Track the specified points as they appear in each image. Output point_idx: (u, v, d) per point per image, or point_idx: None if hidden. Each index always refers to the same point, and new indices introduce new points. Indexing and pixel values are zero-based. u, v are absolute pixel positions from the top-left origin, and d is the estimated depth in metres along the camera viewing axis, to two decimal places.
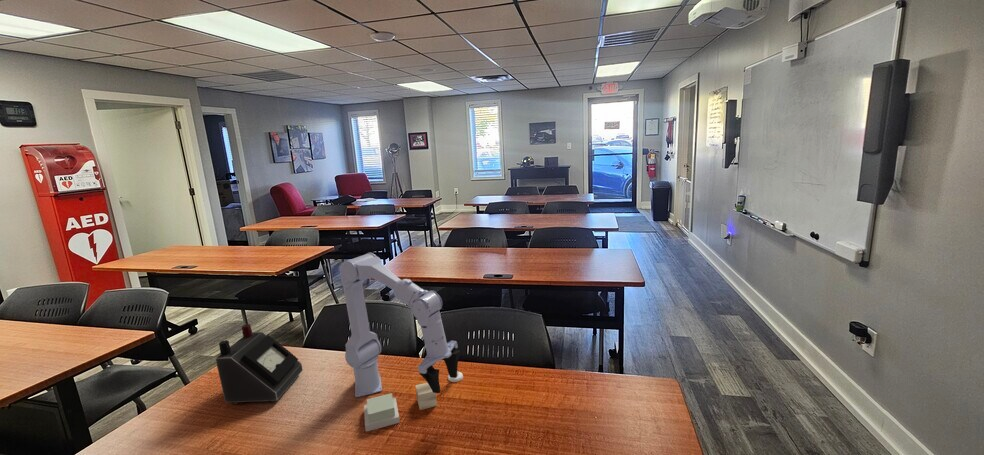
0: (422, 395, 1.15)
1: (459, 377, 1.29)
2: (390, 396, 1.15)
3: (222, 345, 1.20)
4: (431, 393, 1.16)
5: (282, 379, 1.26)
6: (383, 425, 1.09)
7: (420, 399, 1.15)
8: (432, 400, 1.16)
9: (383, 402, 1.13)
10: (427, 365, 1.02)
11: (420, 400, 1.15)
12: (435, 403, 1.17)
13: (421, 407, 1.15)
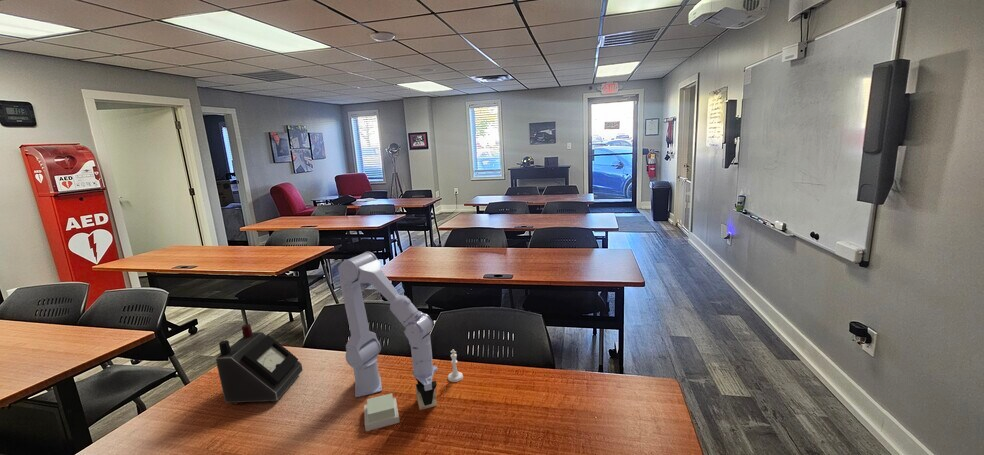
0: None
1: (459, 377, 1.29)
2: (390, 396, 1.15)
3: (222, 345, 1.20)
4: None
5: (282, 379, 1.26)
6: (383, 425, 1.09)
7: (420, 399, 1.15)
8: None
9: (383, 402, 1.13)
10: (431, 381, 1.11)
11: (420, 400, 1.15)
12: (435, 403, 1.17)
13: (421, 406, 1.15)
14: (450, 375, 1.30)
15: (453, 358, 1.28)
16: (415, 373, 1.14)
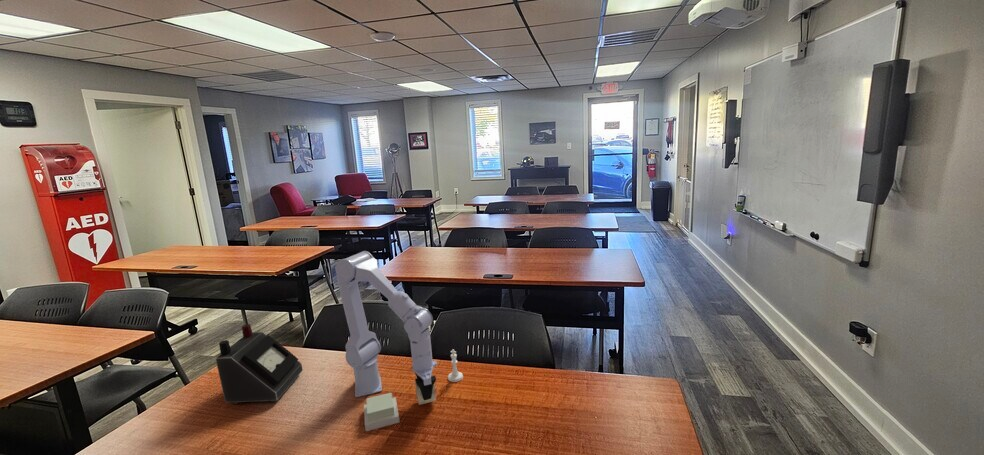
0: None
1: (459, 377, 1.29)
2: (390, 395, 1.15)
3: (222, 345, 1.20)
4: None
5: (282, 379, 1.26)
6: (383, 424, 1.09)
7: (420, 394, 1.15)
8: None
9: (382, 401, 1.13)
10: (430, 376, 1.11)
11: (419, 394, 1.15)
12: (434, 398, 1.16)
13: (420, 401, 1.15)
14: (450, 375, 1.30)
15: (453, 358, 1.28)
16: (414, 368, 1.14)
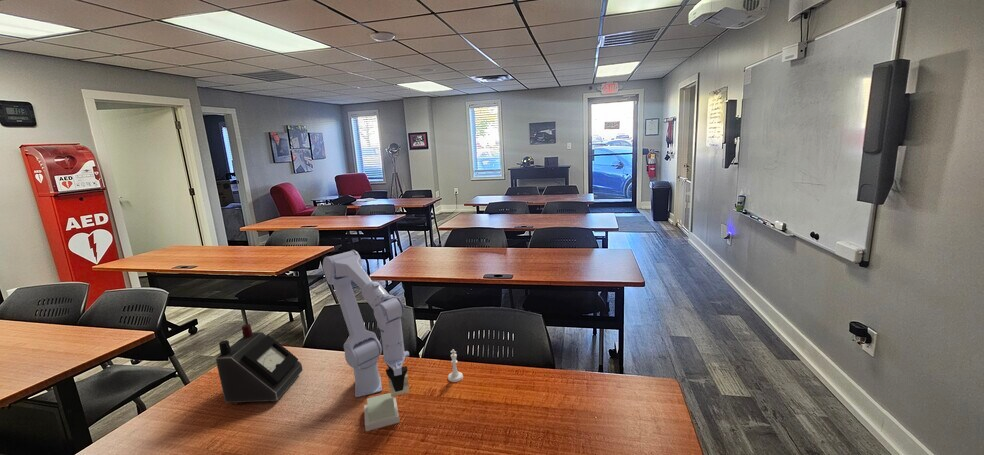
0: None
1: (459, 377, 1.29)
2: (390, 395, 1.16)
3: (222, 345, 1.20)
4: None
5: (282, 379, 1.26)
6: (383, 425, 1.09)
7: (392, 385, 1.11)
8: (404, 386, 1.12)
9: (383, 401, 1.13)
10: (401, 366, 1.07)
11: (391, 386, 1.11)
12: (407, 389, 1.12)
13: (392, 393, 1.11)
14: (450, 375, 1.30)
15: (453, 358, 1.28)
16: (385, 358, 1.10)
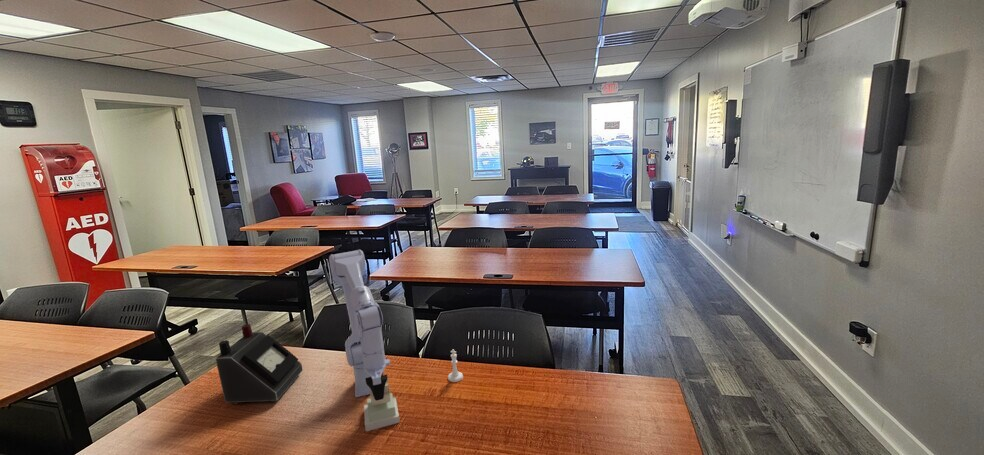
0: None
1: (459, 377, 1.29)
2: (390, 396, 1.15)
3: (222, 345, 1.20)
4: (384, 388, 1.10)
5: (282, 379, 1.26)
6: (383, 425, 1.09)
7: (372, 394, 1.09)
8: (385, 395, 1.10)
9: None
10: (380, 375, 1.05)
11: (372, 395, 1.09)
12: (388, 398, 1.11)
13: (373, 402, 1.09)
14: (450, 375, 1.30)
15: (453, 358, 1.28)
16: (365, 366, 1.08)
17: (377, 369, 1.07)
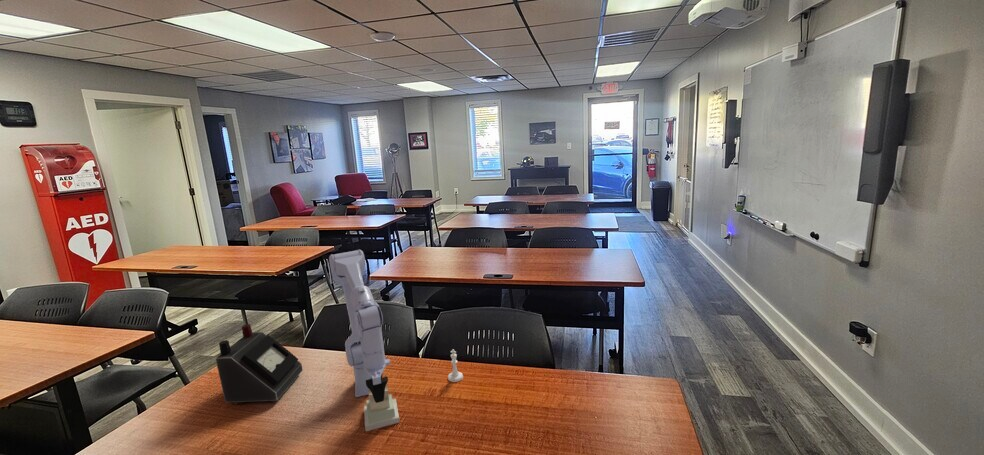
0: None
1: (459, 377, 1.29)
2: (390, 397, 1.15)
3: (222, 345, 1.20)
4: None
5: (282, 379, 1.26)
6: (383, 426, 1.09)
7: (372, 400, 1.09)
8: (384, 400, 1.10)
9: None
10: (380, 375, 1.05)
11: (371, 401, 1.09)
12: (388, 404, 1.11)
13: (372, 408, 1.10)
14: (450, 375, 1.30)
15: (453, 358, 1.28)
16: (365, 366, 1.08)
17: (377, 369, 1.07)
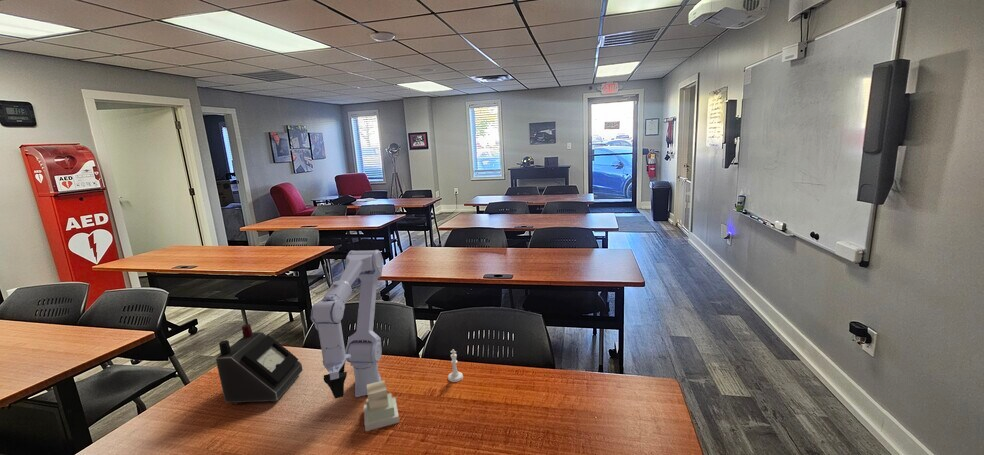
0: (372, 395, 1.09)
1: (459, 377, 1.29)
2: (389, 396, 1.15)
3: (222, 345, 1.20)
4: (382, 392, 1.10)
5: (282, 379, 1.26)
6: (383, 425, 1.09)
7: (370, 399, 1.09)
8: (383, 399, 1.10)
9: None
10: (338, 370, 1.03)
11: (370, 400, 1.09)
12: (387, 403, 1.11)
13: (371, 407, 1.09)
14: (450, 375, 1.30)
15: (453, 358, 1.28)
16: (324, 361, 1.06)
17: (336, 364, 1.06)
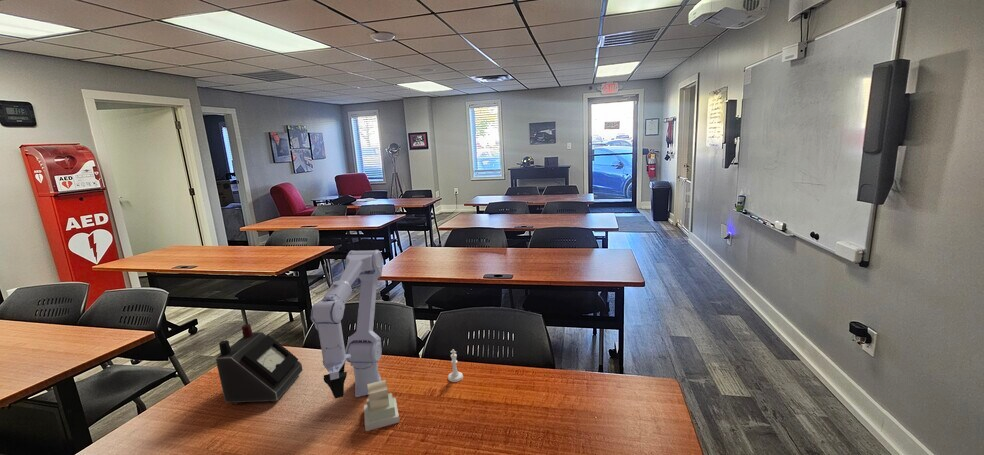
0: (373, 394, 1.09)
1: (459, 377, 1.29)
2: (390, 396, 1.16)
3: (222, 345, 1.20)
4: (383, 392, 1.10)
5: (282, 379, 1.26)
6: (383, 425, 1.09)
7: (371, 399, 1.09)
8: (384, 399, 1.11)
9: None
10: (338, 370, 1.03)
11: (371, 399, 1.09)
12: (387, 402, 1.11)
13: (372, 407, 1.10)
14: (450, 375, 1.30)
15: (453, 358, 1.28)
16: (324, 361, 1.06)
17: (336, 364, 1.06)
